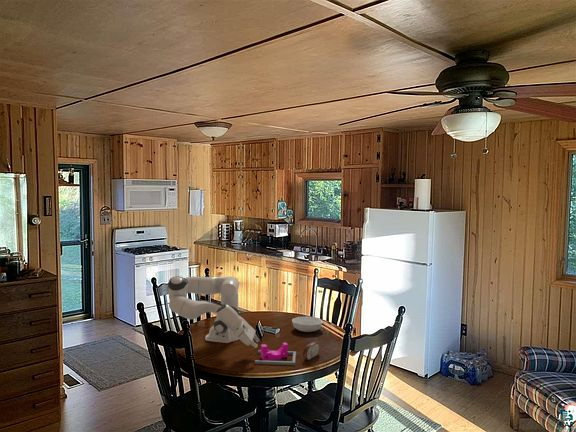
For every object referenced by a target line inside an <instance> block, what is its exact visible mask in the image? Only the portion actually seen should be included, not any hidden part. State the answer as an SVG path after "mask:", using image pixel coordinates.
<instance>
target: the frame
mask: <svg viewBox="0 0 576 432" xmlns="http://www.w3.org/2000/svg"><path fill="white" fill-rule="evenodd" d="M257 354H260V355H261V349H259V350H257ZM289 355H290V356H291V355H292V361H288V360H286V361H285V360H270V361H265V360H262V359H260V360H257V359H255V360H254V364H255V365H277V366H278V365H279V366H296V357H297V351H295V350H294V351H292V350H291V351H290V350H288V356H289Z"/></svg>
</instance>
